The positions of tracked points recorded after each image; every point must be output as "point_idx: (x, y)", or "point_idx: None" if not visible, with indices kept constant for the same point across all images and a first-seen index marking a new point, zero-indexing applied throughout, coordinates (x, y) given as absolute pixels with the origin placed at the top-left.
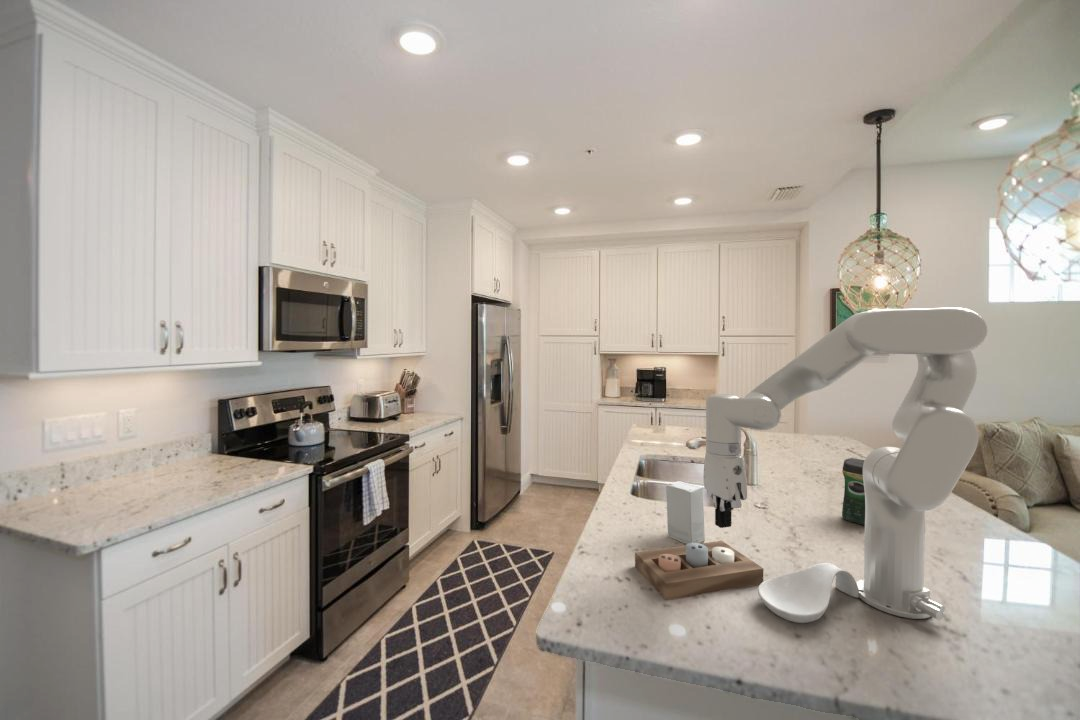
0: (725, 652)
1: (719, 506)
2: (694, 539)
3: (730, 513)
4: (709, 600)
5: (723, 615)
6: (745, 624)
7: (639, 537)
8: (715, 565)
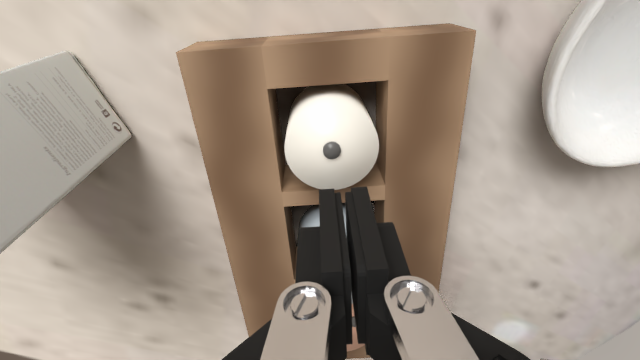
0: (607, 290)
1: (345, 357)
2: (108, 129)
3: (409, 273)
4: (456, 238)
5: (520, 239)
6: (572, 212)
7: (66, 266)
8: (388, 205)
